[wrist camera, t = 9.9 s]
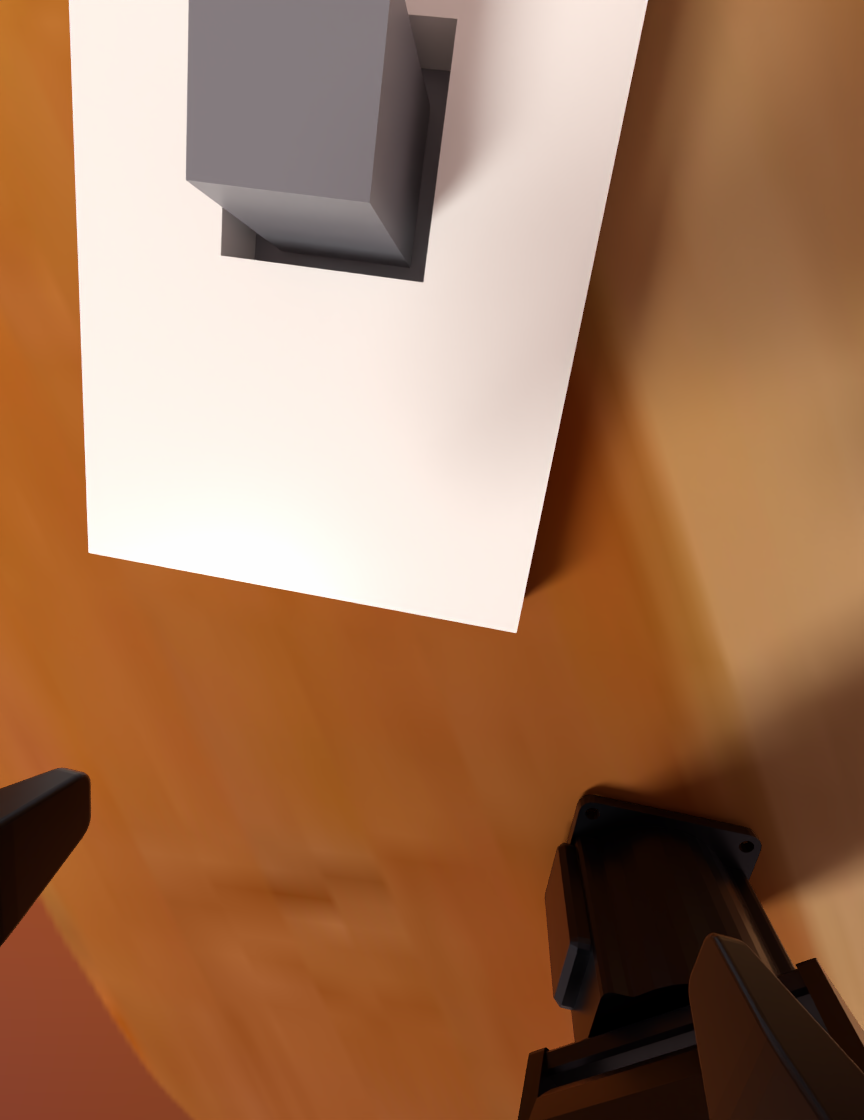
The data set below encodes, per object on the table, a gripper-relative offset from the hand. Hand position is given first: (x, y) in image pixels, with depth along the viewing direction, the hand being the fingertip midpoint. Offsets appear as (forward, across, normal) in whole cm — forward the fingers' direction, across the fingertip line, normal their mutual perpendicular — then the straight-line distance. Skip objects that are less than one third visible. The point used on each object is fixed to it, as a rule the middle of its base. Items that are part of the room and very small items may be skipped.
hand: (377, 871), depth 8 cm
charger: (+11, +5, -12) cm, 17 cm away
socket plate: (+12, +5, -9) cm, 16 cm away
